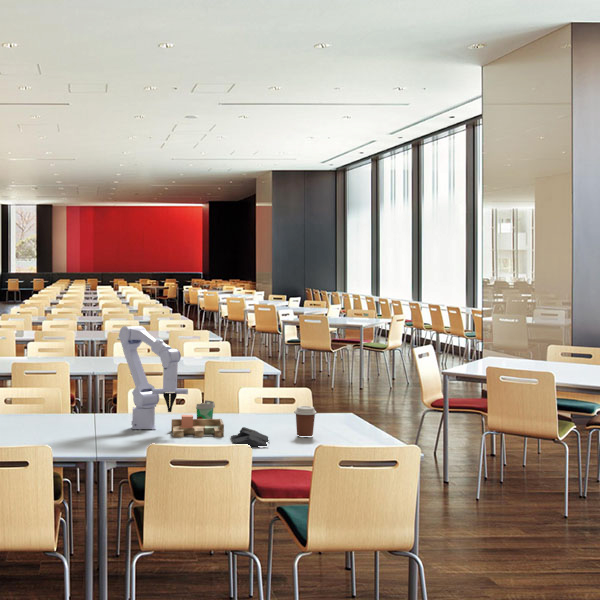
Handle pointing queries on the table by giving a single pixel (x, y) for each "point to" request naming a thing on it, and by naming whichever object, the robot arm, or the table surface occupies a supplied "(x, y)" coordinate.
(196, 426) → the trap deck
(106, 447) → the table surface
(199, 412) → the food container
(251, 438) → the dark slate chunk
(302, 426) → the coffee cup
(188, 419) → the clay-red block
